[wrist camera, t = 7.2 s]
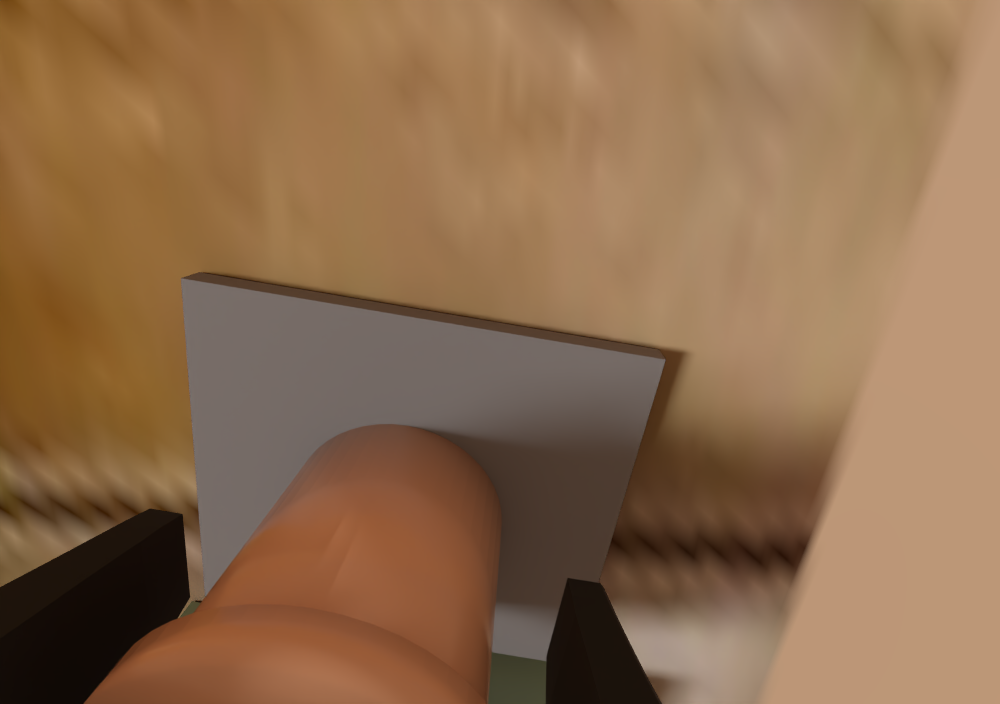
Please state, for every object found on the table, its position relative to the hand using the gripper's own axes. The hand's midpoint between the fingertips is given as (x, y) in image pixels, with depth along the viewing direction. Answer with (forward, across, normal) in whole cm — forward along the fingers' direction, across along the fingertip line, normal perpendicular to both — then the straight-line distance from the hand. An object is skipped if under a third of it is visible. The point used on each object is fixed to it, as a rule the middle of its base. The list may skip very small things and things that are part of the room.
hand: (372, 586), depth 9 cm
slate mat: (+3, 0, 0) cm, 3 cm away
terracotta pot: (+3, 0, 0) cm, 3 cm away
